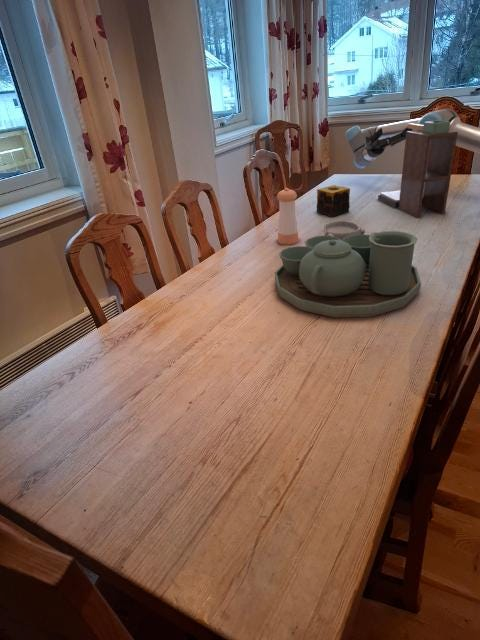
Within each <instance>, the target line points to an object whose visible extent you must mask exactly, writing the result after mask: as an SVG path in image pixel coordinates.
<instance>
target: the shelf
mask: <svg viewBox="0 0 480 640" xmlns="http://www.w3.org/2000/svg"><path fill="white" fill-rule="evenodd" d="M457 133H458V132H457V131H451V130H449V132H446V133H439V134H431V133H425V132H423V131H422V130H415V131H407V132H406V139H405V140H404V141H405V142H404V151H403V161H402V162H403V163H402V171H401V181H400V189H399V190H400V199H399V208H398V209H399V210H401V211H403V212H405V213H407V214H409V215H411V216H413V217H414V218H415V217H416V218H421V213H422V207H423V206H424V207H425V208H428V209H430V210H432V211H435V212H438V213H439V214H441V215H444V214H446V210H447V209H446V208H447V201H448V196H449V189H450V184H451V178H452V170H453V165H454V159H455V152H456V147H457V146H456V140H457ZM422 198H423V201H422Z"/></svg>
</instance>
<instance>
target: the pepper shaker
mask: <svg viewBox="0 0 480 640" xmlns="http://www.w3.org/2000/svg"><path fill="white" fill-rule="evenodd" d="M297 198H298V194H297V192H296V191H295V190H293V189H289V187H285V188H284V189H283V190H280V191H279V192H278V193H277V194H276V199H277V201H278V202H279V203H278V205H279V206H278V207H279V208H278V209H279V215H278V224H277V225H278V232H277V242H278V243H279V244H281V245H294V244H296V243H298V242H299V231H298V219H297V215H296V200H297Z"/></svg>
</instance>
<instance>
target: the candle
mask: <svg viewBox="0 0 480 640" xmlns="http://www.w3.org/2000/svg"><path fill="white" fill-rule="evenodd" d="M350 194H351V188H350V187H345V186H341V185H336V184H332V185H328V186H325V187H321V188H317V189H316V213H317V214H321V215H324V216H328V217H331V218H333V217H337V216H340V215H343V214H346V213H349V212H350V208H351V207H350V206H351V204H350Z"/></svg>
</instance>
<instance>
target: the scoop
mask: <svg viewBox="0 0 480 640" xmlns="http://www.w3.org/2000/svg"><path fill="white" fill-rule="evenodd" d="M407 128H410V129H416V130H422V131H423V132H425V133H431V134H439V133H446V132H449V128H450V122H449V121H441V120H436V121H428V122H424V125H420V124H413V123H409V124H408V126H407Z"/></svg>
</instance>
